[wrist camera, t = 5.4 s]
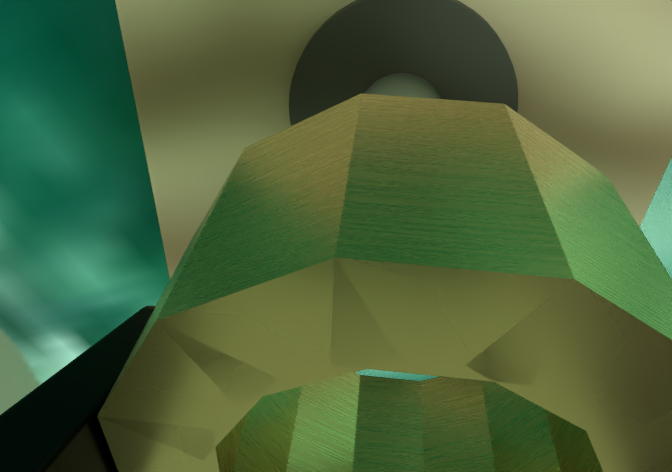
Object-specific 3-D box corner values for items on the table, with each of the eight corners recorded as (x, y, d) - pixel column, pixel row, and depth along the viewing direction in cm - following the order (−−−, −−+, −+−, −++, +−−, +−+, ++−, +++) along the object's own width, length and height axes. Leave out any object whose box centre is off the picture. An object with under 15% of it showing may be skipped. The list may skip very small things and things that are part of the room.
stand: (582, 299, 21) (648, 466, 15) (184, 263, 22) (110, 407, 16) (813, -245, 11) (1208, -329, 6) (92, -270, 12) (-163, -363, 7)
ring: (554, 436, 11) (607, 640, 8) (220, 400, 11) (160, 582, 9) (707, 118, 7) (923, 310, 4) (172, 79, 7) (26, 229, 4)
